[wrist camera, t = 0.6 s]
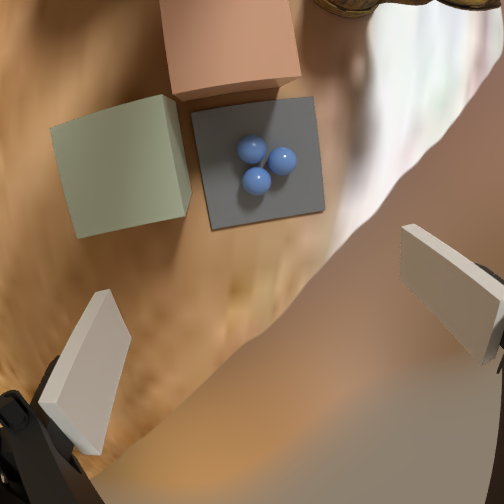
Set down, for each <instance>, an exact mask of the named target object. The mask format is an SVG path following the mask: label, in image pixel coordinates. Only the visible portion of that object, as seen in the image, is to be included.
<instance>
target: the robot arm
mask: <svg viewBox="0 0 504 504" xmlns="http://www.w3.org/2000/svg"><path fill="white" fill-rule="evenodd" d="M400 280H401V281H402V282H403V283H404V284H405V285H406V286H407V287H408V288H409V289H410V290H411V291H412V292H413V293H414V294H415V295H416V296H417V297H418V299H419V300H421V302H423V304H424V305H425V306H426V307H427V308H428V309H429V310H430V311H431V312H432V313H433V314H434V315H435V316H436V317H437V318H438V319H439V320H440V321H441V322H442V324H443V325H444V326H445V327H446V328H447V329H448V330H449V331H450V332H451V333H452V334H453V335H454V337H455V338H456V339H457V340H458V341H459V342H460V343H461V344H462V345H463V347H464V348H465V349H466V350H467V351H468V352H469V353H470V354H471V355H472V357H473V358H474V359H475V360H476V361H477V362H478V364H479V365H480V366H481V365H483V364H485V363H487V362H489V361H491V360H492V359H494V358H495V357H496V354H497V351H498V348H499V345H500V346H501V347H502V348H503V349H504V280H503V279H501V278H500V277H498V275H496V274H495V275H494V273H493V272H492V271H491V270H489V269H488V268H486V267H484V266H482V265H479V264H477V263H473V262H471V261H470V260H468V259H467V258H465V257H464V256H462V255H461V254H460V253H458V252H457V251H455V250H454V249H452V248H451V247H449V246H448V245H446V244H445V243H443V242H442V241H440V240H439V239H437V238H436V237H434V236H433V235H431V234H430V233H428V232H427V231H425V230H423V229H422V228H420V227H419V226H417V225H416V224H411V225H406V226H402V227H401V253H400ZM131 339H132V338H131V336H130V334H129V331H128V329H127V327H126V325H125V323H124V321H123V318H122V316H121V314H120V312H119V309H118V307H117V305H116V302H115V300H114V298H113V295H112V293H111V290H110V289H107V290H102V291H97V292H95V293H94V295H93V297H92V298H91V300H90V302H89V304H88V305H87V307H86V309H85V311H84V312H83V314H82V316H81V318H80V320H79V321H78V323H77V325H76V327H75V329H74V331H73V332H72V334H71V336H70V338H69V340H68V342H67V344H66V346H65V348H64V349H63V351H62V353H61V355H58V356H57V357H56V358H55V359H54V360H53V361H52V362H51V363H50V364H49V366H48V368H47V370H46V372H45V376H43V378H42V380H41V383H40V384H39V386H38V388H37V390H36V392H35V394H34V396H33V399H32V401H31V403H30V405H29V404H28V403H27V402H26V400H25V399H24V398H23V396H22V395H21V394H20V393H19V391H16V390H10V391H7V392H5V393H3V394H2V395H1V396H0V423H1V425H2V426H3V427H1V428H0V504H105V503H104V502H103V500H102V499H101V497H100V496H99V494H98V493H97V491H96V490H95V488H94V487H93V485H92V483H91V482H90V480H89V479H88V477H87V475H86V474H85V472H84V470H83V469H82V467H81V465H80V463H79V462H78V460H77V458H76V457H75V456H74V455H73V454H72V451H73V447H74V446H75V447H76V448H77V449H78V450H79V451H80V452H81V453H82V454H83V455H101V454H102V449H103V445H104V440H105V436H106V432H107V427H108V423H109V419H110V415H111V411H112V407H113V403H114V399H115V395H116V392H117V388H118V384H119V381H120V377H121V373H122V370H123V366H124V363H125V359H126V356H127V352H128V349H129V346H130V342H131ZM501 368H502V395H501V410H500V422H499V430H498V438H497V446H496V452H495V459H494V464H493V470H492V475H491V480H490V485H489V489H488V493H487V497H486V501H485V504H504V354H503V357H502V359H501V362H500V364H499V367H498V370H497V373H498V374H499V372H500V370H501ZM1 475H3V476H4V481H5V482H4V483H3V482H2V479H1Z"/></svg>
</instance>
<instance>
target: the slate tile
mask: <svg viewBox="0 0 504 504" xmlns="http://www.w3.org/2000/svg"><path fill="white" fill-rule="evenodd" d="M191 117H192V123H193V128H194V134H195V140H196V146H197V151H198V157H199V162H200V168H201V173H202V179H203V184H204V190H205V195H206V200H207V205H208V210H209V216H210V221H211V226H212V229H218V228H223V227H229V226H235V225H240V224H246V223H252V222H257V221H263V220H269V219H275V218H281V217H287V216H293V215H299V214H305V213H312V212H318V211H324V210H325V201H324V189H323V177H322V167H321V157H320V148H319V139H318V130H317V122H316V114H315V106H314V99H313V97H301V98H290V99H280V100H271V101H262V102H254V103H247V104H240V105H233V106H227V107H220V108H214V109H209V110H203V111H198V112H193V113H191ZM247 135H257V136H259V137H261V138H262V139H263V140H264V141H265V143H266V146H267V152H266V155H265V157H264V158H263V159H262V160H261V161H260V162H258V163H255V164H249V163H246V162H244V161H243V160H241V159H240V157H239V156H238V153H237V145H238V143H239V141H240V140H241V139H242V138H243V137H245V136H247ZM278 147H286V148H289V149H290V150H292V151H293V152H294V154H295V155H296V158H297V165H296V167H295V169H294V171H293V172H292V173H290V174H288V175H284V176H280V175H277V174H275V173H273V172H272V171H271V170H270V168H269V166H268V156H269V154H270V153H271V151H272V150H274V149H275V148H278ZM253 167H261V168H263V169H265V170H266V171H267V172H268V173H269V174H270V177H271V186H270V188H269V190H268V191H267V192H266V193H265V194H263V195H260V196H253V195H251V194H249V193H247V192H246V191H245V189H244V188H243V185H242V178H243V175H244V173H245V172H246V171H247V170H248V169H250V168H253Z"/></svg>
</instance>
